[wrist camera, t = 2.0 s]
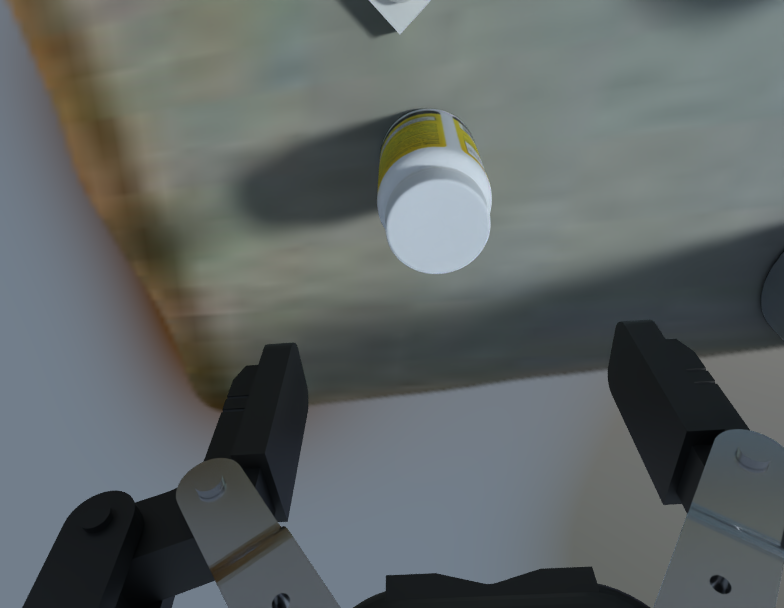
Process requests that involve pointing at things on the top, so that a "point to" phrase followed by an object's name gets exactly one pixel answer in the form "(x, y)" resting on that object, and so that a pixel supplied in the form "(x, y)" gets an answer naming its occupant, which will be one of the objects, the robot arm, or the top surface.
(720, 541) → the robot arm
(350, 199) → the top surface
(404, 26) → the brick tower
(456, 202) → the supplement bottle
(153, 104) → the top surface
